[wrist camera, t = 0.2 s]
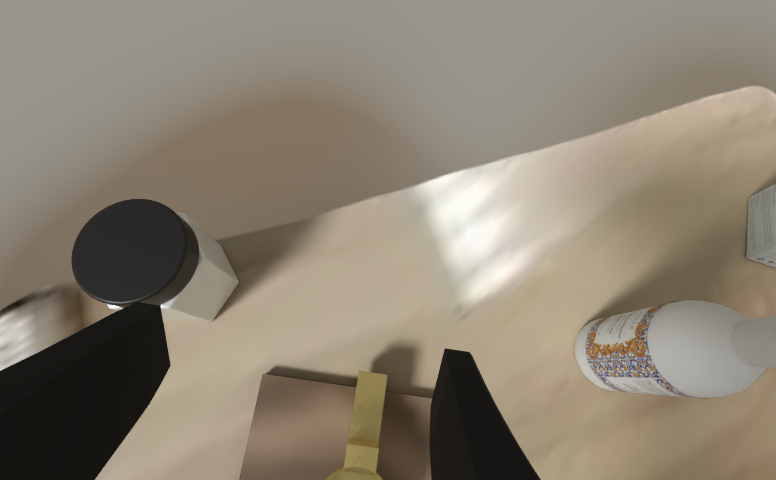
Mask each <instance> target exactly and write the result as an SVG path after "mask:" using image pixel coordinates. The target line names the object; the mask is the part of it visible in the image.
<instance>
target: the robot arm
mask: <svg viewBox="0 0 776 480" xmlns="http://www.w3.org/2000/svg"><path fill="white" fill-rule="evenodd" d="M169 367H170V360H169V354H168V348H167V342H166V336H165V330H164V324H163V318H162V312H161V306H160V305H154V304H147V303H141V302H135V303H133V304H131V305H129V306H127V307H125V308H123V309H121V310H119V311H117V312H115V313H113V314H111V315H109V316H107V317H105V318H103V319H101V320H100V321H98V322H96V323H94V324H92V325H90V326H88V327H86V328H84V329H83V330H81V331H79V332H77V333H75V334H73V335H71V336H69V337H67V338H65V339H63V340H61V341H60V342H58V343H56V344H54V345H52V346H50V347H48V348H46V349H44V350H42V351H40V352H38V353H36V354H34V355H32V356H30V357H28V358H26V359H24V360H22V361H20V362H18V363H16V364H14V365H12V366H10V367H8V368H5V369H3V370H1V371H0V480H95V478H96V477H97V476H98V474H99V473H100V471H101V470H102V469H103V467H104V466H105V465H106V463H107V462H108V461H109V459H110V458H111V456H112V455H113V454H114V452H115V451H116V450H117V448H118V447H119V445H120V444H121V443H122V441H123V440H124V439H125V437H126V436H127V434H128V433H129V432H130V430H131V429H132V428H133V426H134V425H135V423H136V422H137V421H138V419H139V418H140V416H141V415H142V414H143V412H144V411H145V409H146V408H147V406H148V405H149V404H150V402H151V400H152V398H153V397H154V395H155V393H156V391H157V390H158V388H159V386H160V384H161V382H162V381H163V379H164V377H165V375H166V373H167V371H168V369H169ZM429 450H430V465H431V480H541V479H540V478H539V476H538V475H537V473H536V472H535V470H534V469H533V467H532V466H531V464H530V462H529V461H528V459H527V458H526V456H525V454H524V453H523V451H522V450H521V448H520V446H519V445H518V443H517V441H516V440H515V438H514V436H513V435H512V433H511V431H510V429H509V427H508V426H507V424H506V422H505V420H504V418H503V417H502V415H501V413H500V411H499V410H498V408H497V406H496V404H495V402H494V400H493V398H492V396H491V394H490V392H489V390H488V388H487V386H486V384H485V382H484V380H483V378H482V376H481V374H480V372H479V370H478V368H477V365H476V363H475V361H474V359H473V356H472V355H471V354H470V352H465V351H458V350H452V349H445V350H444V354H443V358H442V362H441V366H440V370H439V374H438V378H437V382H436V386H435V390H434V394H433V398H432V402H431V409H430V437H429Z"/></svg>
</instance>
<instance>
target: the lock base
mask: <svg viewBox="0 0 776 480" xmlns="http://www.w3.org/2000/svg"><path fill="white" fill-rule="evenodd" d="M355 393H356V387H353V386H346V385H339V384H333V383H326V382H319V381H312V380H305V379H298V378H292V377H285V376H278V375H271V374H263V375H262V380H261V384H260V389H259V393H258V398H257V402H256V407H255V411H254V416H253V420H252V425H251V429H250V434H249V438H248V443H247V447H246V452H245V456H244V461H243V465H242V470H241V474H240V479H239V480H325V479H326V478H327V477H328V475H330V474H331V473H332V472H333V471H334V470H336V469H337V468H339V467H341V466H344V462H345V455H346V449H347V443H348V438H349V432H350V425H351V419H352V412H353V406H354V399H355ZM431 402H432V398H428V397H421V396H414V395H408V394H401V393H394V392H387V391H385V398H384V405H383V413H382V420H381V428H380V435H379V443H378V446H379V452H378V460H377V467H376V471H378V472H379V473H380V474H381V475H382V477H383V478H384V479H385V480H431V465H430V450H429V437H430V409H431Z"/></svg>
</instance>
